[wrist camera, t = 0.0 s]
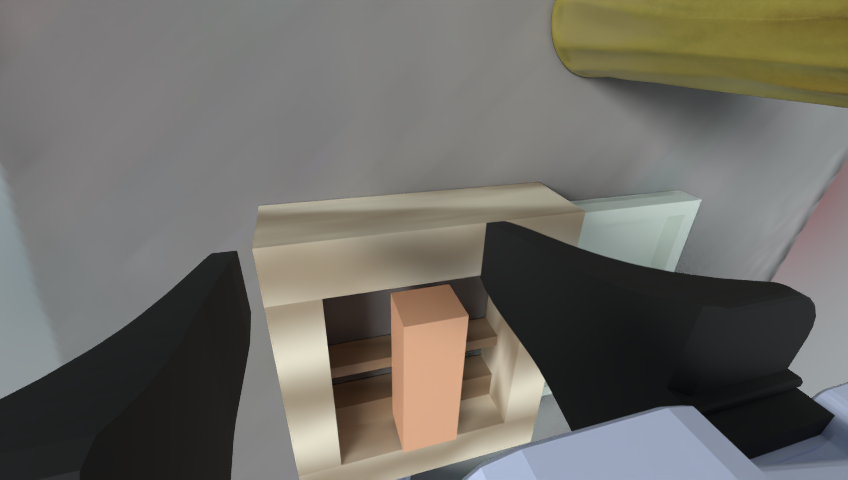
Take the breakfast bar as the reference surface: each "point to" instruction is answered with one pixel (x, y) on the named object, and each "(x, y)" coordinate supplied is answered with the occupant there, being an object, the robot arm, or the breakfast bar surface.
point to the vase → (711, 45)
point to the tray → (638, 229)
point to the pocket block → (372, 397)
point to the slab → (427, 364)
